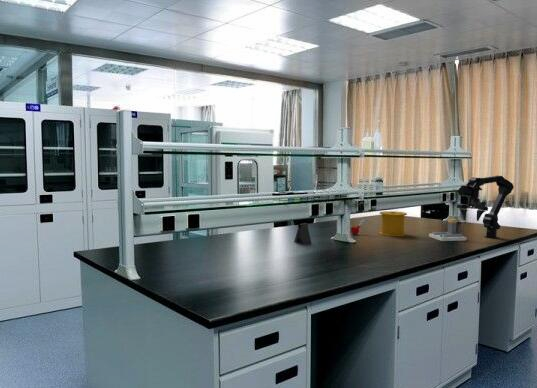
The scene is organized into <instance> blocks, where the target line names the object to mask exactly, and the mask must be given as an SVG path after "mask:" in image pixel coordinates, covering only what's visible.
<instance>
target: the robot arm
mask: <svg viewBox="0 0 537 388" xmlns="http://www.w3.org/2000/svg"><path fill="white" fill-rule="evenodd" d="M493 183H495V184H496V186H497V187H498V188H497V189H498V194H497V196H496V198H495V201H494V202H493V204H492V207H491V209H490V211H489V207H488V206H487V202H486V201H480V198H479V197H480V196H479V195H480V191H483V188H482V186H484V185H486V184H493ZM514 189H515V186H514V184H513V183H512V182H511V181H509V180H508V179H507V178H505V177H504V176H503V175H495V176H494V175H493V176H485V177H470V178H469V180H468V181H467V183H466V184H465V185H463V184H462V185H460V187H459V189H458V192H457V193H458V195H459V196H461V197H467V200H468V202H467V204H463V203H458V204H457V205H456V208H457V209H458V210H459V211H460V212H461V213H460V214H461V216H462V218H463V220H464V221H466V217H467V212H468V209H471V210H472V209H473V210H476V221H477V222H479V220H480V219H481V217H482V215H483V214H484V216H483V218H482V224H483V226H484V227H483V228H486V232H485V233H486V235H484V236H483V237H484V238H489V239H497V238H500V237H499V236H498V230H500V229H501V225H500V224H499V223H498V221H499V216H498V215H499V213H500V211H501V208H502V206H503V205H504V203H505V200H506V198H507V196H508V195H510V194H511V193H512V191H513V190H514ZM487 211H488V213H486V212H487Z"/></svg>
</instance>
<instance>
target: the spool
mask: <svg viewBox="0 0 537 388" xmlns="http://www.w3.org/2000/svg"><path fill="white" fill-rule="evenodd" d="M407 213H408V212H404V211H392V210H391V211H385V210H384V211H380V212H379V214H380V215H381V230H380V231H379V232H378V234H379V235H382V236H388V237H405V236H407V233H406V232H405V216H407V215H408V214H407Z"/></svg>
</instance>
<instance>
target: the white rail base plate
mask: <svg viewBox="0 0 537 388" xmlns="http://www.w3.org/2000/svg"><path fill="white" fill-rule="evenodd" d="M446 232H447V231H432V233H429V234H428V237H429V238H433V239H435V240H437V241H441V242H457V241H459V242H462V241H463V242H464V241H467V240H468V239H467V237H466V236H463V234H462V233H456V234H446Z"/></svg>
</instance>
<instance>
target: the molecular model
mask: <svg viewBox="0 0 537 388" xmlns="http://www.w3.org/2000/svg"><path fill="white" fill-rule="evenodd" d="M366 224H367V221H366V220H365V219H362V220H360V223H359V224H358V225H357V226H353V225H352V224H351V223H350V227H349V229H350V233H351V234H352V235H357V234H359V231H360V228H361V227H362V226H365V225H366Z"/></svg>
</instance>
